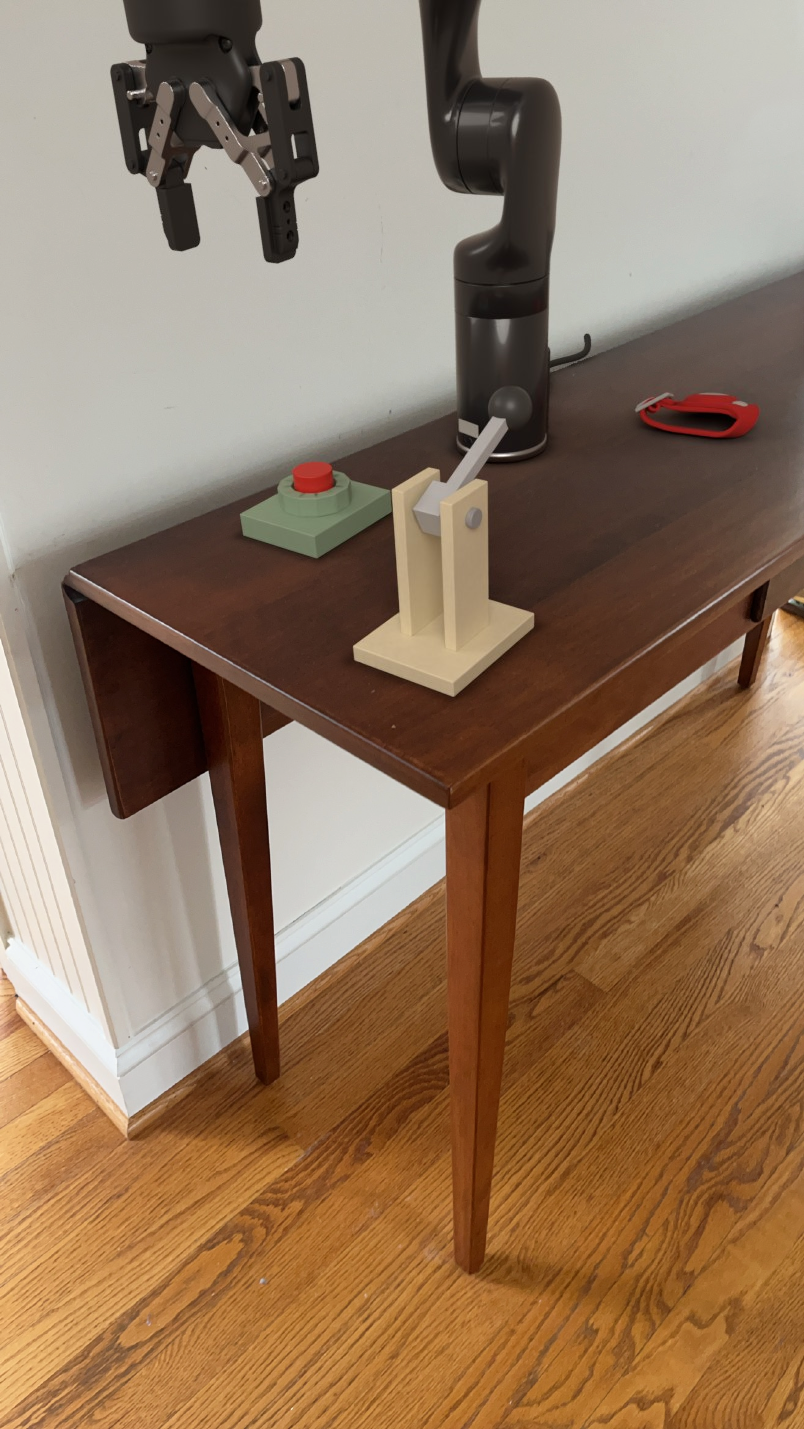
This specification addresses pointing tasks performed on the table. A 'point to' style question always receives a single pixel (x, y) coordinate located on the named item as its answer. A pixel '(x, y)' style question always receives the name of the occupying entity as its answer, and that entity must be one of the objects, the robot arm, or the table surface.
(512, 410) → the press lever
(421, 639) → the lever bracket
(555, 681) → the table surface
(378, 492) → the button block
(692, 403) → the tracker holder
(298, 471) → the stop button
